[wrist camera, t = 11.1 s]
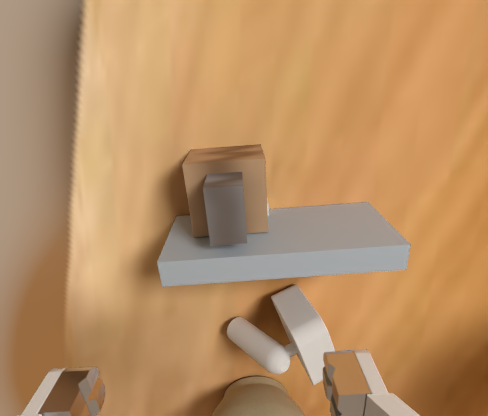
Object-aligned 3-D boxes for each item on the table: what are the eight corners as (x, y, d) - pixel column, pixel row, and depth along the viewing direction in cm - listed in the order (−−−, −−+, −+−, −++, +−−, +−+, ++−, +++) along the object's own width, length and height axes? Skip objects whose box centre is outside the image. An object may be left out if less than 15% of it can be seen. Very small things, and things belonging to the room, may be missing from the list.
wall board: (369, 190, 33) (413, 229, 25) (366, 222, 34) (406, 269, 26) (174, 204, 33) (153, 248, 25) (180, 235, 35) (162, 286, 26)
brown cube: (260, 144, 31) (269, 170, 23) (263, 208, 34) (272, 252, 25) (191, 149, 31) (174, 177, 23) (200, 212, 34) (187, 258, 25)
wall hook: (214, 307, 38) (230, 372, 29) (287, 271, 39) (325, 323, 30) (237, 351, 41) (258, 422, 32) (304, 316, 42) (344, 376, 33)
